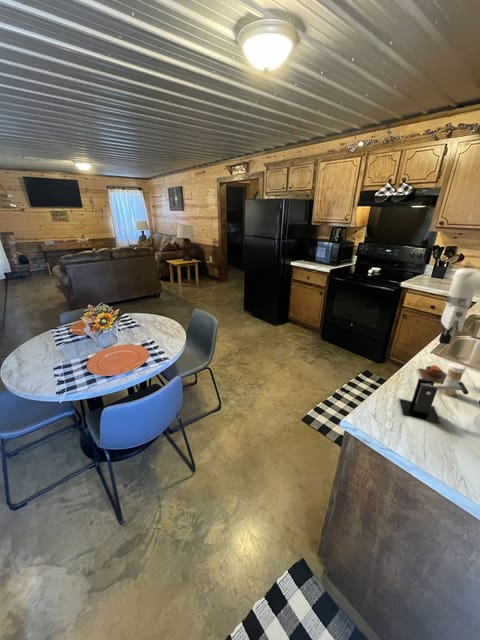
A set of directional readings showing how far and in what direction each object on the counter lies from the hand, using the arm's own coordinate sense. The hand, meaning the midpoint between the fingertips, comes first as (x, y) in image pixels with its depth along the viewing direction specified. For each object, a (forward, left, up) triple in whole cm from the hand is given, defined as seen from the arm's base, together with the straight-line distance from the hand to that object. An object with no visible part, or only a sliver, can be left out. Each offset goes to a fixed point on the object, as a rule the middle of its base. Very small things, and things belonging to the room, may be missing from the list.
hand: (443, 342), depth 109 cm
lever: (+6, +29, -6) cm, 30 cm away
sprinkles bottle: (-3, +12, -17) cm, 21 cm away
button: (0, 0, -14) cm, 14 cm away
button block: (0, +2, -17) cm, 17 cm away
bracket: (+10, +29, -17) cm, 35 cm away
